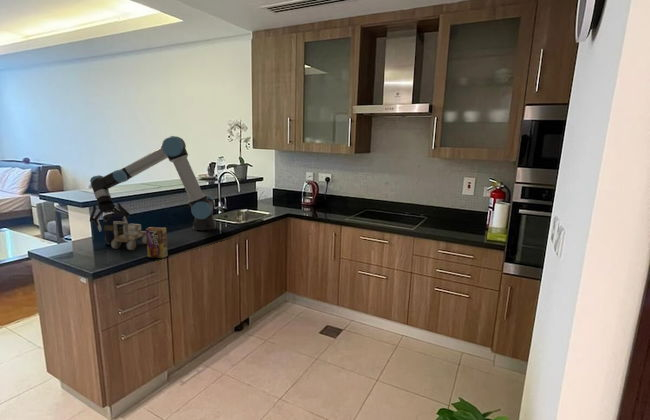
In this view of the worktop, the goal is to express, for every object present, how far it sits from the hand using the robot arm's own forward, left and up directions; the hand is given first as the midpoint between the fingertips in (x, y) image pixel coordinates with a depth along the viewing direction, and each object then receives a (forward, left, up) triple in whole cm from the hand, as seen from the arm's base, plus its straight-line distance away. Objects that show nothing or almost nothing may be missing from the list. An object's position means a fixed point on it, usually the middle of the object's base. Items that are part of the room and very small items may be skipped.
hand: (114, 228), depth 195 cm
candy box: (-35, +13, -9) cm, 38 cm away
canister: (+1, -1, -9) cm, 9 cm away
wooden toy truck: (-11, +1, -9) cm, 14 cm away
